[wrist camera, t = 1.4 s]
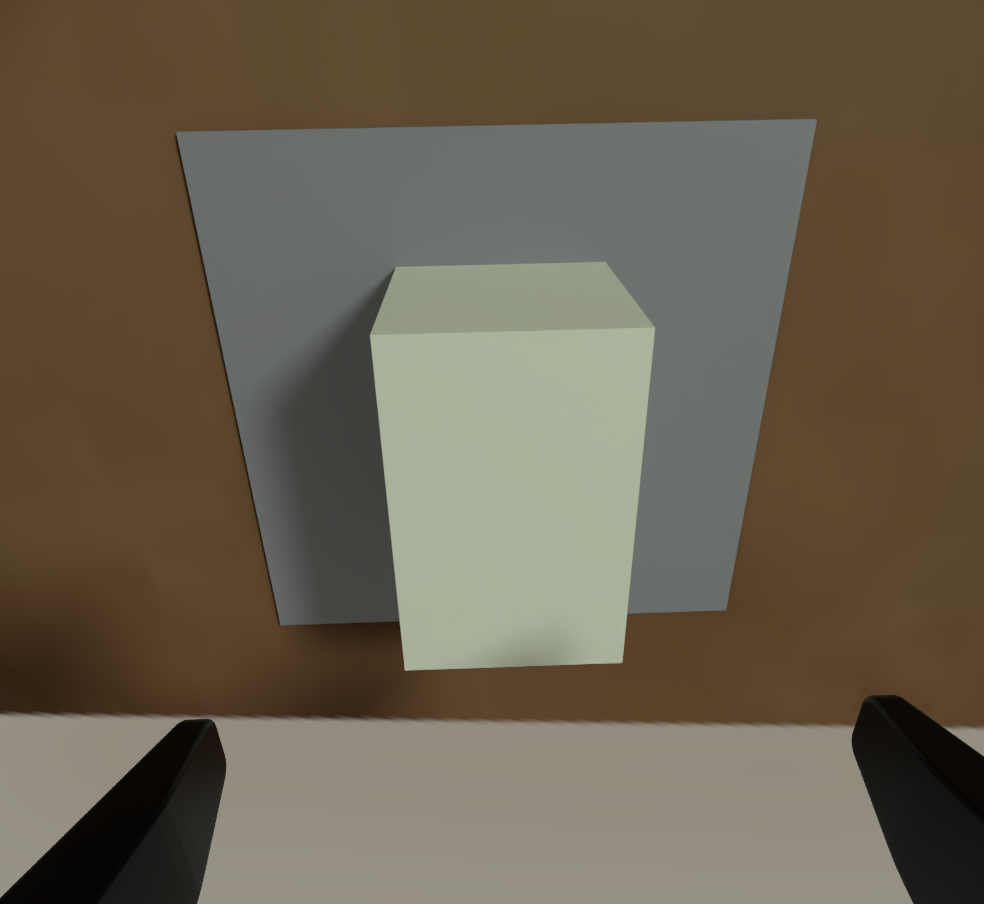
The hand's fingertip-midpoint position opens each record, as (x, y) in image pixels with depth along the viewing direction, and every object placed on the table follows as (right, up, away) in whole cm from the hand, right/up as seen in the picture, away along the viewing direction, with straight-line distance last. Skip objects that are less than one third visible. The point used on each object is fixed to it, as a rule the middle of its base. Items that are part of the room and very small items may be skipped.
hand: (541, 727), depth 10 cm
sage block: (0, +5, +9) cm, 10 cm away
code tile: (0, +5, +9) cm, 10 cm away
